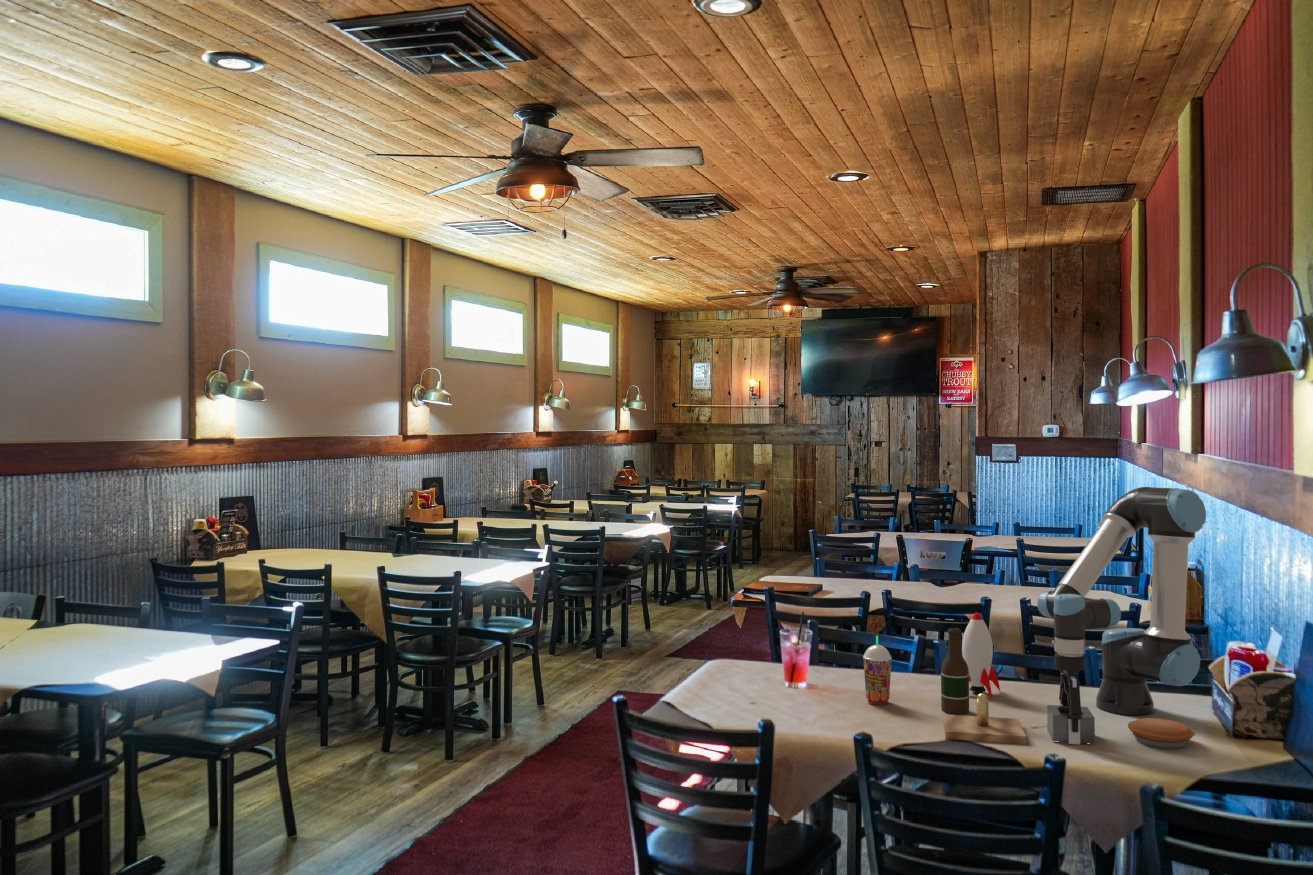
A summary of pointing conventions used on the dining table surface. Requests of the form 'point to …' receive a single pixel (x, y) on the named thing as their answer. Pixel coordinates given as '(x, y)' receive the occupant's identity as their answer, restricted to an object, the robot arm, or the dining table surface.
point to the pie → (1161, 733)
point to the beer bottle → (954, 677)
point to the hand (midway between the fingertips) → (1070, 736)
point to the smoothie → (877, 674)
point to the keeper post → (982, 710)
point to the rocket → (979, 655)
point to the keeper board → (983, 729)
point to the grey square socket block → (1059, 724)
